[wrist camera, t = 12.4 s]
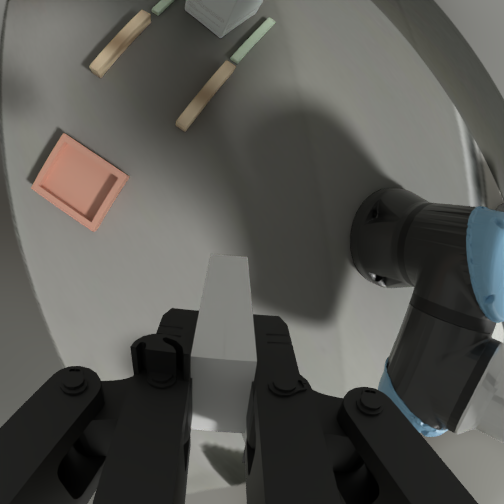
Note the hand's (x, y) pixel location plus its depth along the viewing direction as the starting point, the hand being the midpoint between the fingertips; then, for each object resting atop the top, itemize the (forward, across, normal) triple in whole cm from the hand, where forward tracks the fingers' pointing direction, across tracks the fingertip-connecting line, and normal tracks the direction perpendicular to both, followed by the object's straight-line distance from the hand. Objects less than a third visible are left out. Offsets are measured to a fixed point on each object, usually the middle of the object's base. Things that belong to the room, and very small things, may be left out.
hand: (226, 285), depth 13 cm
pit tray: (+24, +19, 0) cm, 30 cm away
